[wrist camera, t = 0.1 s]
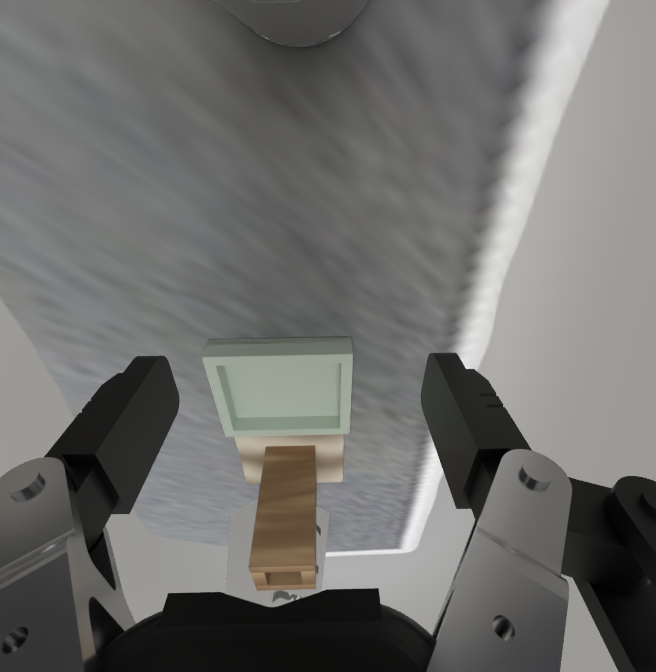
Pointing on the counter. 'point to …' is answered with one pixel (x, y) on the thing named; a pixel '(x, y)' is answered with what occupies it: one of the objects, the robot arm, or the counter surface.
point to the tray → (281, 385)
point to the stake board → (325, 445)
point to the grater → (239, 555)
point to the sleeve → (286, 520)
